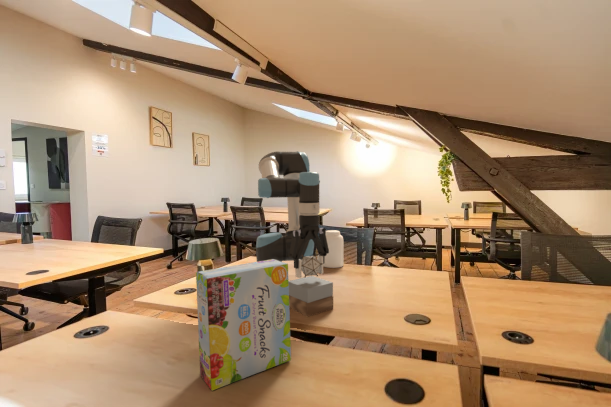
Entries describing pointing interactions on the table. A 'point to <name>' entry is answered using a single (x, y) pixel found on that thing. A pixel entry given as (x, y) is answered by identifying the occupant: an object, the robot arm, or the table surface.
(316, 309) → the tower base
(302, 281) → the tower top
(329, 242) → the white plastic jar
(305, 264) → the game die
